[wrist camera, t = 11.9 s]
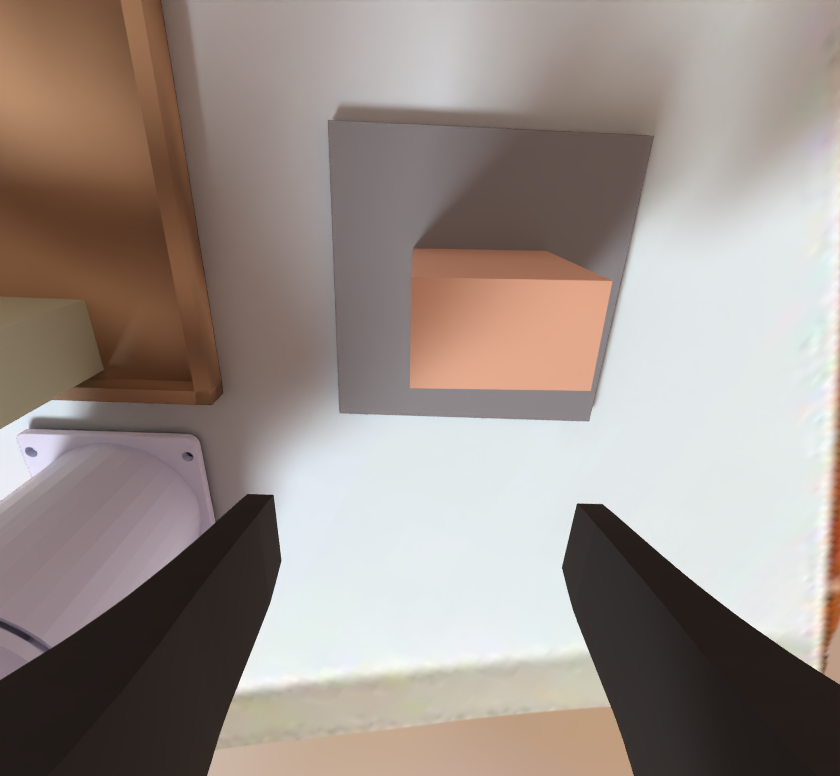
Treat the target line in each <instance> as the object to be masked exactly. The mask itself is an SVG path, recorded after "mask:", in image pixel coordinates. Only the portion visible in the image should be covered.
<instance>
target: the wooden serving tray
mask: <svg viewBox="0 0 840 776" xmlns="http://www.w3.org/2000/svg"><path fill="white" fill-rule="evenodd" d="M0 296H1V297H27V298H53V299H79V300H85V303H86V307H87V310H88V314H89V318H90V321H91V325H92V328H93V332H94V336H95V339H96V343H97V346H98V350H99V354H100V357H101V361H102V365H103V368H104V370H103V371H101V372H99V373H98V374H96V375H94V376H92V377H90V378H89V379H87V380H85V381H83V382H82V383H80V384H78V385H76V386H75V387H73V388H71V389H69V390H68V391H66V392H64V393H62V394H61V395H59V396H57V397H55V398H54V399H52V400H72V401H102V402H132V403H162V404H193V405H212V404H213V403H214V402H215V401H216V400H217V399H218V398H219V397H220V396H221V395H222V394H223V389H222V382H221V376H220V370H219V364H218V357H217V351H216V345H215V339H214V332H213V326H212V320H211V313H210V307H209V301H208V295H207V288H206V282H205V276H204V270H203V263H202V257H201V251H200V244H199V238H198V232H197V226H196V219H195V213H194V207H193V201H192V194H191V188H190V182H189V176H188V169H187V163H186V157H185V150H184V144H183V138H182V132H181V125H180V119H179V113H178V107H177V100H176V94H175V88H174V81H173V75H172V69H171V63H170V56H169V50H168V44H167V38H166V31H165V25H164V19H163V12H162V6H161V0H0Z"/></svg>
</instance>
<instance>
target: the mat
mask: <svg viewBox="0 0 840 776" xmlns="http://www.w3.org/2000/svg"><path fill="white" fill-rule="evenodd" d="M328 133H329V158H330V183H331V209H332V234H333V260H334V285H335V310H336V336H337V361H338V386H339V412H340V413H349V414H379V415H410V416H440V417H471V418H501V419H532V420H562V421H589V420H590V415H591V411H592V406H593V402H594V398H595V393H596V389H597V384H598V380H599V376H600V371H601V367H602V362H603V358H604V354H605V349H606V345H607V340H608V336H609V332H610V327H611V323H612V318H613V314H614V310H615V305H616V301H617V296H618V292H619V288H620V283H621V279H622V274H623V270H624V266H625V261H626V257H627V252H628V248H629V244H630V239H631V235H632V230H633V226H634V222H635V217H636V213H637V208H638V204H639V200H640V195H641V191H642V186H643V182H644V178H645V173H646V169H647V164H648V160H649V156H650V151H651V147H652V142H653V138H654V136H649V135H628V134H607V133H586V132H566V131H545V130H524V129H504V128H483V127H462V126H441V125H421V124H400V123H379V122H359V121H338V120H328ZM413 248H422V249H474V250H525V251H548V252H550V253H552V254H555V255H557V256H559V257H561V258H563V259H566V260H568V261H570V262H572V263H574V264H576V265H579V266H581V267H583V268H585V269H587V270H590V271H592V272H594V273H596V274H598V275H601V276H603V277H605V278H607V279H609V280H611V281H612V286H611V291H610V296H609V301H608V306H607V311H606V317H605V322H604V327H603V332H602V337H601V342H600V347H599V352H598V357H597V362H596V367H595V372H594V377H593V382H592V387H591V391H566V390H498V389H431V388H410V326H411V270H412V255H413Z"/></svg>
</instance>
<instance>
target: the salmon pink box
mask: <svg viewBox="0 0 840 776" xmlns="http://www.w3.org/2000/svg"><path fill="white" fill-rule="evenodd" d="M611 286H612V281H611V280H609V279H607V278H605V277H603V276H601V275H598V274H596V273H594V272H592V271H590V270H587V269H585V268H583V267H581V266H579V265H576V264H574V263H572V262H570V261H568V260H566V259H563V258H561V257H559V256H557V255H555V254H552V253H550V252H548V251H525V250H474V249H422V248H413V255H412V270H411V326H410V388H431V389H498V390H566V391H591V387H592V382H593V377H594V372H595V367H596V362H597V357H598V352H599V347H600V342H601V337H602V332H603V327H604V322H605V317H606V311H607V306H608V301H609V296H610V291H611Z"/></svg>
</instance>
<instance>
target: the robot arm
mask: <svg viewBox="0 0 840 776" xmlns="http://www.w3.org/2000/svg"><path fill="white" fill-rule="evenodd" d="M16 439H17V443H18V446H19V448H20V451H21V453H22V456H23V458H24V461H25V463H26V466H27V468H28V471H29V473H30V476H31V479H30V480H28V481H27V482H26V483H24V484H23V485H22V486H20V487H19V488H17V489H16V490H15V491H13V492H12V493H11V494H9V495H8V496H7V497H5V498H4V499H3V500H1V501H0V776H207V774H208V771H209V767H210V764H211V761H212V758H213V754H214V751H215V748H216V744H217V741H218V738H219V734H220V731H221V729H222V726H223V723H224V720H225V717H226V715H227V712H228V709H229V706H230V704H231V701H232V699H233V696H234V694H235V691H236V689H237V686H238V684H239V681H240V678H241V676H242V673H243V671H244V668H245V666H246V663H247V661H248V658H249V656H250V653H251V651H252V648H253V646H254V643H255V641H256V638H257V636H258V633H259V630H260V628H261V625H262V623H263V620H264V618H265V615H266V612H267V610H268V607H269V605H270V601H271V598H272V594H273V591H274V587H275V583H276V580H277V576H278V572H279V568H280V564H281V553H280V545H279V537H278V528H277V520H276V512H275V503H274V495H258V494H247V495H246V496H245V497H244V498H243V499H241V500H240V501H239V502H238V503H237V504H236V505H235V506H233V507H232V508H231V509H230V510H229V511H228V512H227V513H226V514H224V515H223V516H222V517H221V518H220V519H219V520H218V521H217V522H215V517H214V512H213V507H212V502H211V497H210V491H209V486H208V481H207V476H206V471H205V466H204V460H203V455H202V450H201V445H200V442H199V440H198V439H197V438H196V437H195V436H193V435H191V434H176V433H144V432H112V431H80V430H49V429H26V430H24V431H23V432H21V433H20V434H18V435H17V438H16ZM33 448H34V449H35V450H36V451H35V450H34V449H33ZM186 452H190V453H191V454H192V455H193V457H191V456H189V455H187V453H186ZM562 569H563V573H564V577H565V581H566V585H567V590H568V593H569V597H570V601H571V604H572V608H573V611H574V614H575V616H576V619H577V622H578V624H579V627H580V629H581V632H582V635H583V637H584V640H585V642H586V645H587V647H588V650H589V652H590V655H591V657H592V660H593V662H594V665H595V667H596V670H597V673H598V675H599V678H600V680H601V683H602V685H603V688H604V690H605V693H606V695H607V698H608V700H609V703H610V705H611V708H612V710H613V713H614V716H615V718H616V721H617V724H618V727H619V730H620V732H621V735H622V738H623V741H624V744H625V748H626V751H627V754H628V758H629V761H630V764H631V767H632V771H633V774H634V776H840V684H838V683H836V682H835V681H833V680H831V679H830V678H828V677H827V676H825V675H823V674H822V673H820V672H819V671H817V670H816V669H814V668H812V667H811V666H809V665H808V664H806V663H805V662H803V661H802V660H800V659H799V658H797V657H796V656H794V655H793V654H791V653H790V652H788V651H787V650H785V649H784V648H782V647H781V646H779V645H778V644H777V643H775V642H774V641H772V640H771V639H769V638H768V637H766V636H765V635H764V634H762V633H761V632H759V631H758V630H756V629H755V628H753V627H752V626H751V625H749V624H748V623H747V622H745V621H744V620H742V619H741V618H740V617H738V616H737V615H736V614H734V613H733V612H732V611H730V610H729V609H728V608H726V607H725V606H724V605H723V604H721V603H720V602H719V601H717V600H716V599H715V598H713V597H712V596H711V595H710V594H708V593H707V592H706V591H704V590H703V589H702V588H701V587H699V586H698V585H697V584H696V583H694V582H693V581H692V580H691V579H689V578H688V577H687V576H686V575H685V574H683V573H682V572H681V571H680V570H679V569H677V568H676V567H675V566H674V565H673V564H671V563H670V562H669V561H668V560H667V559H666V558H664V557H663V556H662V555H661V554H660V553H659V552H657V551H656V550H655V549H654V548H653V547H652V546H650V545H649V544H648V543H647V542H646V541H645V540H644V539H642V538H641V537H640V536H639V535H638V534H637V533H636V532H634V531H633V530H632V529H631V528H630V527H629V526H628V525H626V524H625V523H624V522H623V521H622V520H621V519H620V518H618V517H617V516H616V515H615V514H614V513H612V512H611V511H610V510H609V509H608V508H606V507H605V506H604V505H603V504H577V506H576V510H575V515H574V519H573V523H572V527H571V532H570V536H569V540H568V544H567V549H566V553H565V557H564V561H563V566H562Z"/></svg>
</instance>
